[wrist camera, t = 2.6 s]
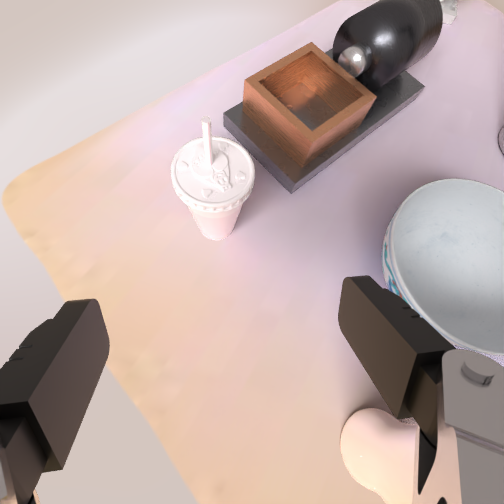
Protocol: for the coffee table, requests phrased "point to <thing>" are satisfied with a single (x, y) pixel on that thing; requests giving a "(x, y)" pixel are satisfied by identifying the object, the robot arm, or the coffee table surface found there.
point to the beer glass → (380, 454)
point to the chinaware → (451, 260)
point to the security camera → (449, 10)
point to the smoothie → (213, 181)
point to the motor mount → (334, 90)
